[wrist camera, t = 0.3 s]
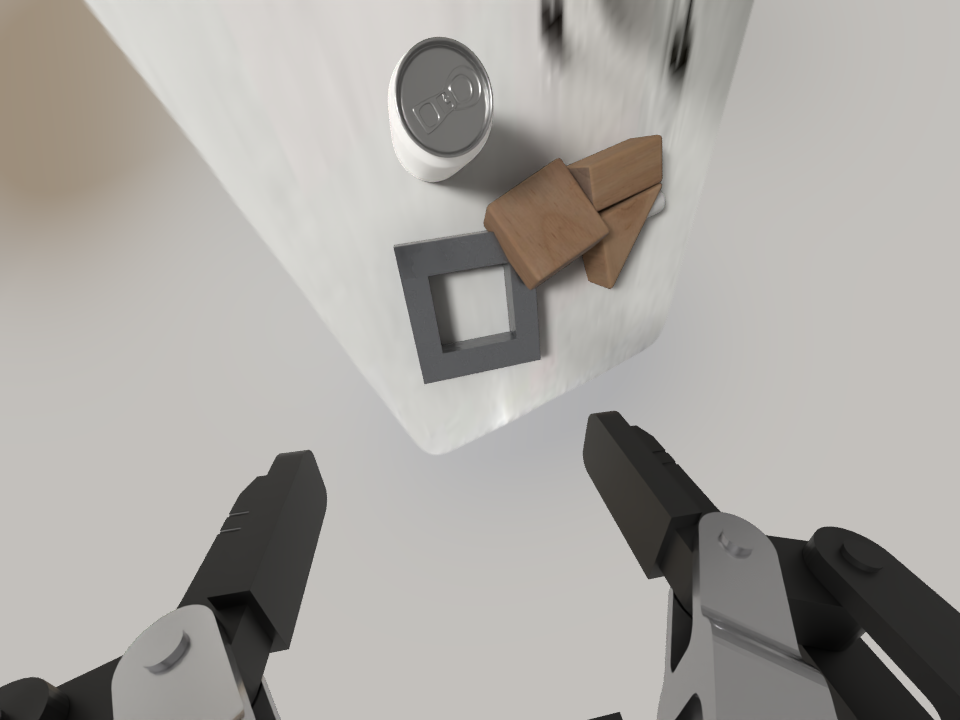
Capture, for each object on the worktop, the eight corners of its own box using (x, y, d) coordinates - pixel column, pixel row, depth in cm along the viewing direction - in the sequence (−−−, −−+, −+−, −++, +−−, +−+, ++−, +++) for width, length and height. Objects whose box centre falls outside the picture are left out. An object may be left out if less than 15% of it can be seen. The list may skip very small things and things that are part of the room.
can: (479, 154, 31) (520, 122, 20) (423, 197, 32) (434, 189, 21) (436, 79, 29) (458, -5, 18) (375, 128, 29) (360, 76, 18)
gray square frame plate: (394, 245, 33) (393, 247, 30) (523, 224, 34) (532, 225, 32) (423, 374, 38) (424, 384, 36) (532, 351, 40) (540, 359, 38)
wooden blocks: (633, 249, 42) (506, 313, 39) (625, 123, 34) (468, 189, 31) (687, 261, 36) (541, 338, 32) (692, 110, 28) (504, 191, 25)
